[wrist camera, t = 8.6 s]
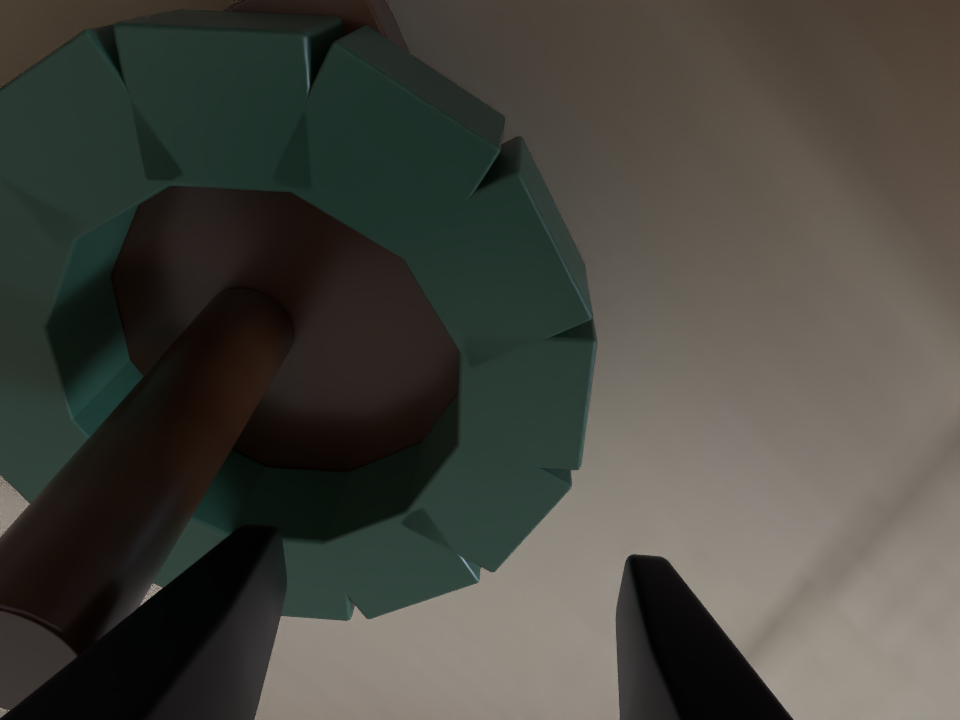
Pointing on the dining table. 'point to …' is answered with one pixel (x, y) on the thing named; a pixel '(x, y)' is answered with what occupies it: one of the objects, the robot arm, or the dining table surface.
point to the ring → (351, 200)
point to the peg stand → (221, 389)
